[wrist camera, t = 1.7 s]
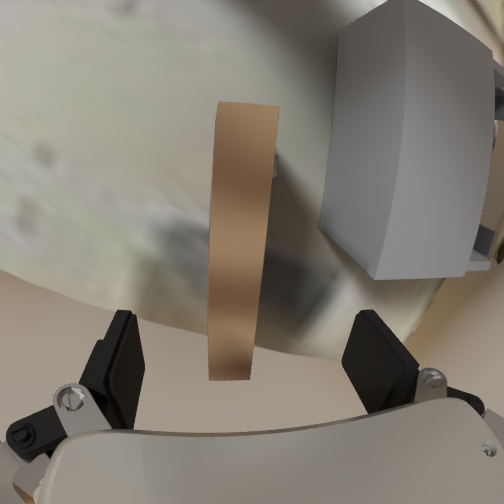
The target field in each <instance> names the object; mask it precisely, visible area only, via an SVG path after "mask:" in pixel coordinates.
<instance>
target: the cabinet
mask: <svg viewBox="0 0 504 504" xmlns="http://www.w3.org/2000/svg"><path fill="white" fill-rule="evenodd" d="M494 120H502V121H504V68H503V67H502V66H501V65H499V64H498V63H497V62H496V61H495V60H494V59H493V55H492V50H490V49H489V48H488V47H487V46H485V45H484V44H483V43H482V42H480V41H479V40H478V39H477V38H475V37H474V36H473V35H471V34H470V33H469V32H467V31H466V30H464V29H463V28H462V27H460V26H459V25H457V24H456V23H454V22H453V21H451V20H450V19H448V18H447V17H445V16H444V15H442V14H441V13H439V12H437V11H436V10H434V9H432V8H431V7H429V6H427V5H425V4H424V3H422V2H420V1H418V0H388V1H387V2H385V3H383V4H381V5H380V6H378V7H376V8H375V9H373V10H371V11H370V12H368V13H367V14H365V15H363V16H362V17H360V18H359V19H357V20H356V21H354V22H353V23H351V24H350V25H348V26H347V27H345V28H344V29H342V30H341V31H339V32H338V50H337V69H336V84H335V97H334V109H333V120H332V130H331V139H330V148H329V157H328V165H327V173H326V181H325V188H324V195H323V202H322V209H321V215H320V222H319V228H320V229H321V230H322V231H323V232H324V233H326V234H327V235H328V236H329V237H330V238H331V239H332V240H333V241H334V242H335V243H336V244H337V245H338V246H339V247H341V248H342V249H343V250H344V251H345V252H346V253H347V254H348V255H349V256H350V257H351V258H352V259H353V260H354V261H355V262H356V263H357V264H358V265H359V266H360V267H361V268H362V269H363V270H364V271H366V272H367V273H368V274H369V275H370V276H371V277H372V278H373V279H374V280H395V279H426V278H448V277H464V274H465V272H466V271H489V269H490V266H491V263H492V261H490V257H491V254H492V250H493V247H494V243H495V240H496V236H497V232H495V231H493V230H491V229H489V228H487V227H485V226H483V225H481V224H479V223H480V220H481V216H482V211H483V206H484V201H485V196H486V191H487V186H488V179H489V173H490V166H491V158H492V149H493V137H494Z"/></svg>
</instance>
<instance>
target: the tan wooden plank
mask: <svg viewBox="0 0 504 504" xmlns="http://www.w3.org/2000/svg"><path fill="white" fill-rule="evenodd" d="M278 114H279V107H275V106H267V105H258V104H247V103H235V102H218V107H217V113H216V122H215V135H214V148H213V163H212V180H211V199H210V221H209V251H208V366H209V380H212V381H216V380H218V381H221V380H222V381H223V380H224V381H227V380H249V379H250V374H251V365H252V357H253V349H254V341H255V332H256V324H257V315H258V306H259V298H260V289H261V280H262V271H263V262H264V253H265V244H266V234H267V225H268V215H269V206H270V196H271V186H272V177H275V176H276V174H277V168H278V157H277V155H275V146H276V135H277V125H278Z"/></svg>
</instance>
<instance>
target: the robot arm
mask: <svg viewBox="0 0 504 504" xmlns="http://www.w3.org/2000/svg"><path fill="white" fill-rule="evenodd" d="M342 366H343V368H344V370H345V372H346V373H347V375H348V377H349V379H350V381H351V383H352V384H353V386H354V388H355V390H356V392H357V394H358V396H359V398H360V399H361V401H362V403H363V405H364V407H365V409H366V411H367V413H368V414H366V415H362V416H358V417H353V418H348V419H343V420H338V421H333V422H327V423H321V424H315V425H309V426H302V427H294V428H286V429H277V430H266V431H251V432H231V433H186V432H185V433H184V432H183V433H182V432H161V431H148V430H133V428H134V423H135V417H136V411H137V406H138V401H139V396H140V391H141V386H142V381H143V376H144V372H145V363H144V357H143V352H142V346H141V342H140V335H139V329H138V323H137V317H136V315H135V314H132V312H131V311H130V310H117V311H116V313H115V316H114V318H113V320H112V322H111V324H110V326H109V329H108V331H107V333H106V335H105V337H104V339H103V340H98V341H97V342H96V344H95V347H94V349H93V351H92V353H91V356H90V358H89V360H88V362H87V364H86V367H85V369H84V372H83V374H82V376H81V379H80V381H79V384H76V383H70V384H66V385H64V386H61V387H60V388H59V389H57V390H56V392H55V394H54V395H53V404H54V405H52V406H50V407H48V408H45V409H43V410H41V411H39V412H37V413H34V414H32V415H30V416H28V417H26V418H23V419H21V420H18V421H16V422H14V423H13V424H11V425H10V427H9V428H8V430H7V433H6V441H5V442H4V443H2V442H1V441H0V504H35V503H34V500H33V493H34V491H35V489H36V488H37V487H38V486H39V485H40V483H39V481H40V480H41V479H42V478H43V482H42V486H41V490H40V495H39V500H38V504H504V418H503V417H501V416H499V415H498V414H496V413H494V412H493V411H491V410H489V409H487V410H486V411H485V408H484V404H483V402H482V401H481V400H480V398H479V397H477V396H475V395H472V394H469V393H466V392H463V391H460V390H457V389H454V388H451V387H448V386H447V379H446V377H445V376H444V374H443V373H442V372H440V371H439V370H436V369H434V368H424V369H422V370H421V371H419V370H418V367H419V364H418V362H417V361H416V360H415V359H414V357H413V356H412V355H411V354H410V353H409V351H408V350H407V349H406V348H405V346H404V345H403V344H402V343H401V342H400V340H399V339H398V338H397V337H396V336H395V334H394V333H393V332H392V331H391V330H390V328H389V327H388V326H387V325H386V324H385V323H384V321H383V320H382V319H381V318H380V317H379V316H378V314H377V313H376V312H375V311H374V310H361V311H360V312H359V314H357V315H356V317H355V320H354V323H353V327H352V330H351V333H350V336H349V339H348V342H347V345H346V348H345V351H344V354H343V357H342Z"/></svg>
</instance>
